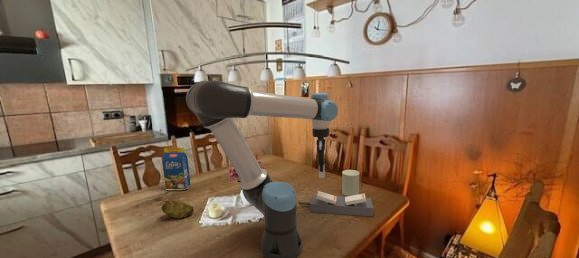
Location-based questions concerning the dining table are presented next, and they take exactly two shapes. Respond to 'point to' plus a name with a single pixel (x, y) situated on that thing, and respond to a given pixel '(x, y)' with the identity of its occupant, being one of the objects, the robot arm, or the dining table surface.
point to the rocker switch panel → (340, 207)
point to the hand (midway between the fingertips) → (321, 177)
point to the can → (350, 182)
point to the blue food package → (175, 168)
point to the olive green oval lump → (177, 209)
